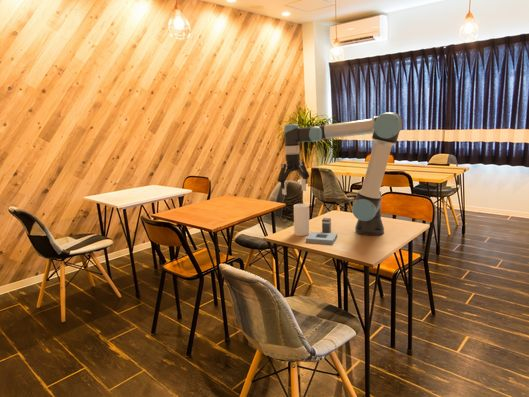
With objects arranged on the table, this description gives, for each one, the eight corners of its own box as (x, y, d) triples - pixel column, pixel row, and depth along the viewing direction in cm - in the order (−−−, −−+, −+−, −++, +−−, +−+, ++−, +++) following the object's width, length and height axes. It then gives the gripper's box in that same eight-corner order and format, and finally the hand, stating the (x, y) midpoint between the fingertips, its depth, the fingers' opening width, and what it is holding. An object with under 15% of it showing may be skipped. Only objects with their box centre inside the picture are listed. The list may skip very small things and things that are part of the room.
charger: (331, 232, 216) (330, 218, 214) (329, 234, 212) (329, 220, 211) (323, 231, 217) (323, 217, 216) (322, 233, 214) (322, 219, 212)
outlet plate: (337, 237, 207) (337, 233, 206) (332, 244, 196) (332, 240, 195) (311, 235, 212) (311, 231, 211) (305, 242, 201) (305, 238, 200)
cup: (308, 235, 211) (308, 207, 208) (293, 235, 213) (292, 207, 209) (309, 231, 219) (309, 203, 216) (295, 231, 221) (294, 203, 217)
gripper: (305, 151, 219) (307, 188, 223) (269, 155, 205) (271, 195, 209) (314, 151, 212) (316, 189, 217) (277, 156, 199) (280, 197, 203)
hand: (294, 192), depth 213 cm, fingers open, 13 cm apart
